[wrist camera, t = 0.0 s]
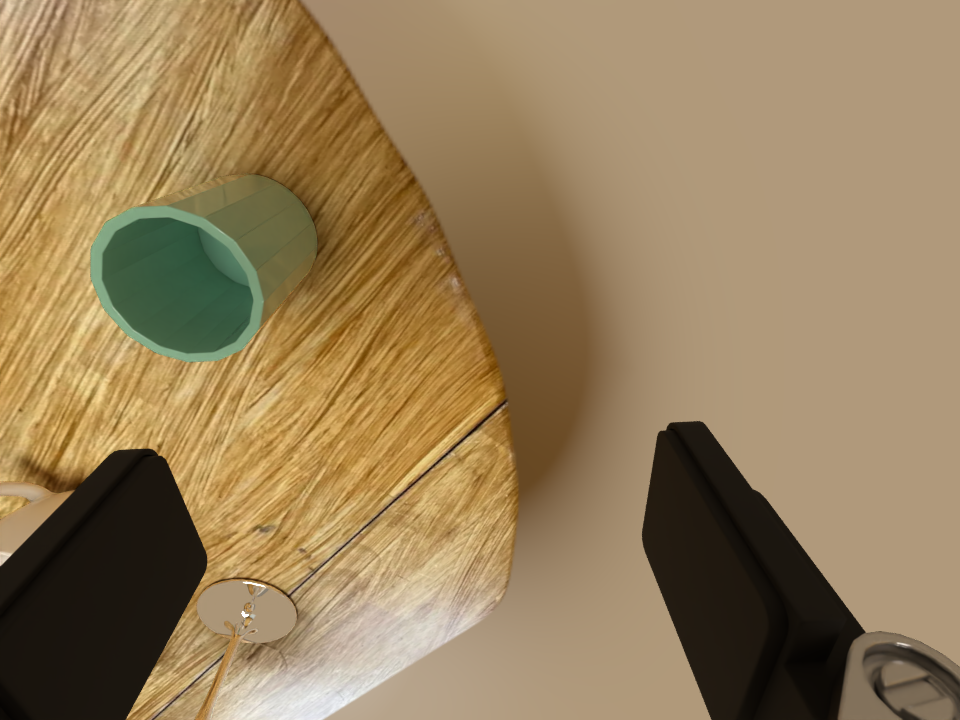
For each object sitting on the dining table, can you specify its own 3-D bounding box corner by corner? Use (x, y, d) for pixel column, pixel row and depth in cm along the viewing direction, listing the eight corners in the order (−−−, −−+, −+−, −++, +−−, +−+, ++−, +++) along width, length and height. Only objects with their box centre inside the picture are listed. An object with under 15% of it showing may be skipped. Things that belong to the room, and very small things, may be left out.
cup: (107, 565, 36) (36, 658, 30) (-25, 478, 32) (-136, 565, 26) (181, 522, 34) (121, 611, 28) (51, 423, 30) (-50, 504, 24)
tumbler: (179, 176, 24) (60, 210, 17) (304, 170, 24) (237, 202, 17) (216, 293, 27) (127, 365, 20) (327, 288, 27) (279, 358, 20)
